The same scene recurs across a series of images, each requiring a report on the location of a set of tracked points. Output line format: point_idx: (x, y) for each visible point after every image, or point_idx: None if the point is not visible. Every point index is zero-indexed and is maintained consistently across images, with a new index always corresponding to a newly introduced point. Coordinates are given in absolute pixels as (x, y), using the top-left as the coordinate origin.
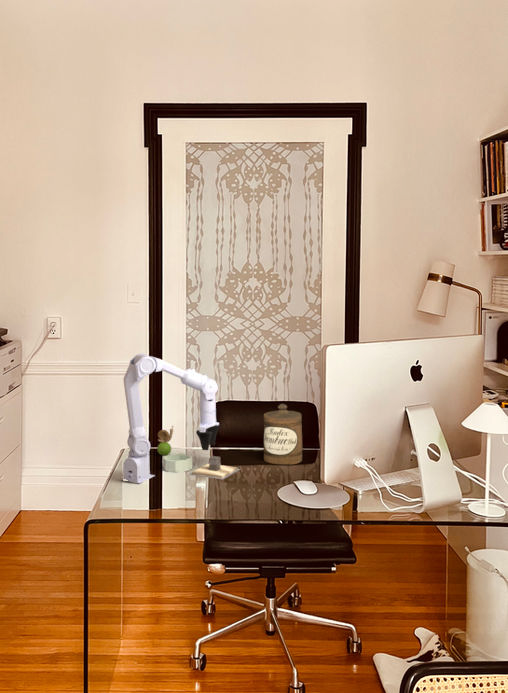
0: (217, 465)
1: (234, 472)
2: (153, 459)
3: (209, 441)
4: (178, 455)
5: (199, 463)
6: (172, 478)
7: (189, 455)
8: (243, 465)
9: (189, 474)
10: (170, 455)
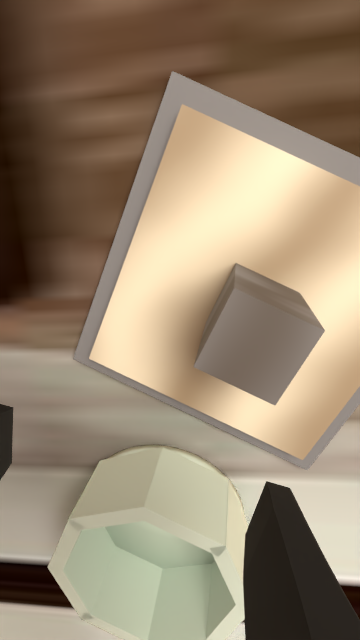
0: (290, 297)
1: (285, 126)
2: (4, 589)
3: (307, 611)
4: (69, 565)
5: (30, 400)
6: (346, 541)
7: (90, 519)
8: (23, 64)
9: (305, 464)
10: (92, 609)
